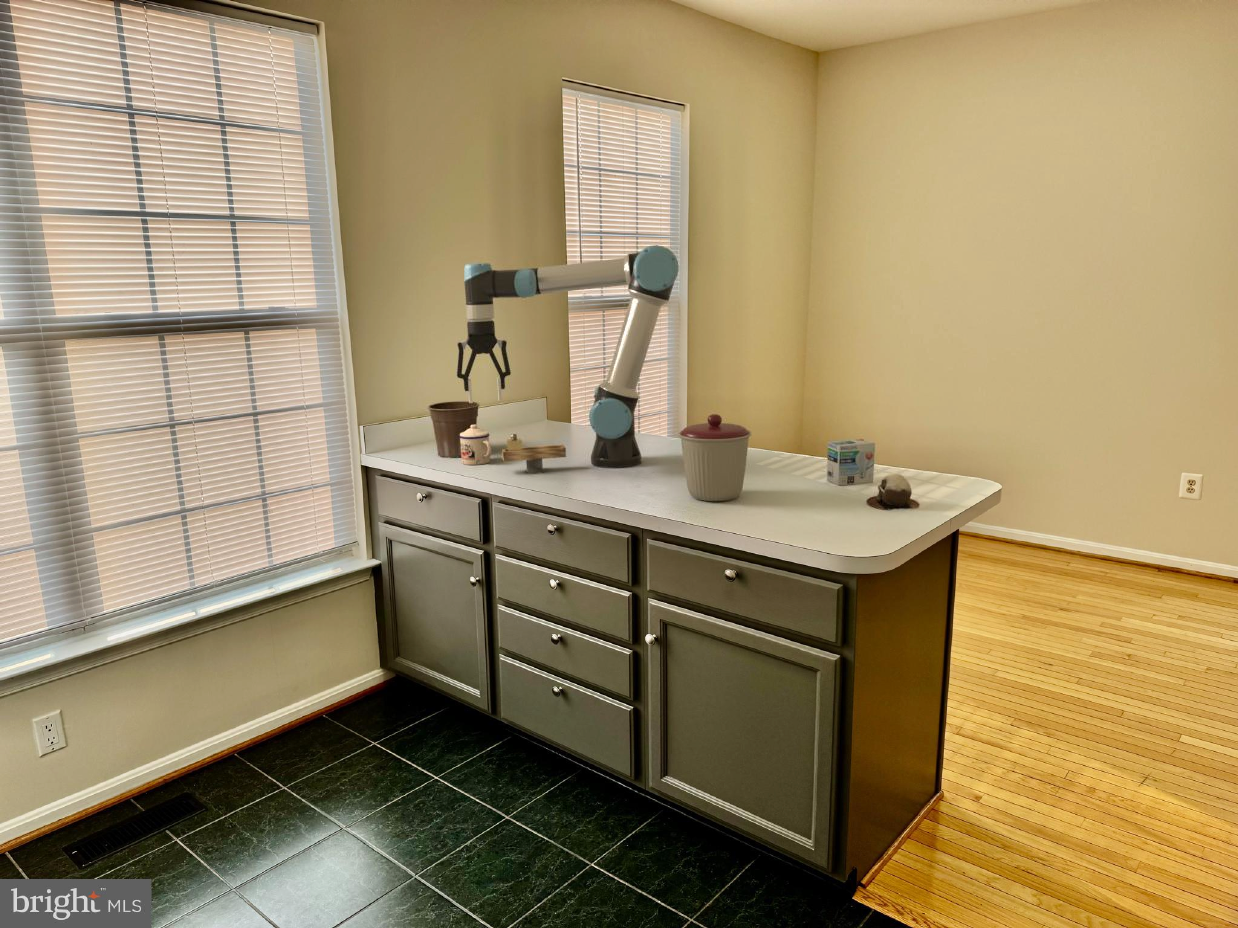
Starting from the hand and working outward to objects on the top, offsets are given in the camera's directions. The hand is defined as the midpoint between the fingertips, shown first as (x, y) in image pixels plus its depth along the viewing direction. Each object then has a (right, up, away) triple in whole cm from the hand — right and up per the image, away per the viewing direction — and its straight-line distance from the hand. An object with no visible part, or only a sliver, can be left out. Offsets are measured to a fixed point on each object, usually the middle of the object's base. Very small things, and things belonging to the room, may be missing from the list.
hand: (485, 401), depth 250 cm
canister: (+62, -26, -27) cm, 73 cm away
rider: (+8, -15, +5) cm, 17 cm away
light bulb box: (+99, -23, -16) cm, 103 cm away
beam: (+13, -20, +7) cm, 25 cm away
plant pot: (-14, -15, +34) cm, 40 cm away
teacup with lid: (-5, -18, +20) cm, 27 cm away
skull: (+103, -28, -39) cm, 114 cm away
